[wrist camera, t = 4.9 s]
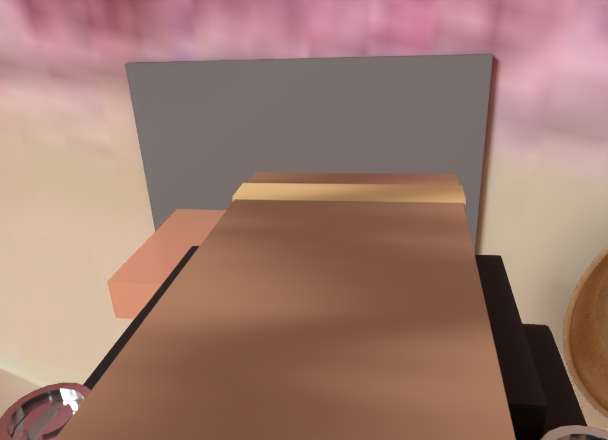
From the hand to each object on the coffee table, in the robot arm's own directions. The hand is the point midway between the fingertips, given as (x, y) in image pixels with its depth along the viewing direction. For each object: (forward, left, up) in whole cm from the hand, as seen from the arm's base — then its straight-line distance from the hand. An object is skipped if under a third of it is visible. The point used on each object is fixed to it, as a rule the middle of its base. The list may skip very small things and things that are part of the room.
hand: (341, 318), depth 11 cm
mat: (+4, +6, -16) cm, 18 cm away
